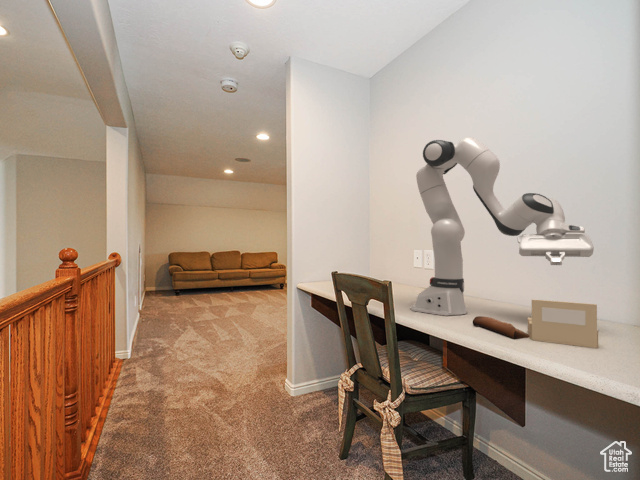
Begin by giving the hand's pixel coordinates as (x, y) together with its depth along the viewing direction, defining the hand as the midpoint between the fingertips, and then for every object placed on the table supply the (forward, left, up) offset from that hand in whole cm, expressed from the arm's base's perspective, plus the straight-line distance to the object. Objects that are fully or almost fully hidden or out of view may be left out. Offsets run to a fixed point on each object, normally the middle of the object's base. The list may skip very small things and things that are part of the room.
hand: (556, 264), depth 104 cm
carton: (0, -8, -22) cm, 24 cm away
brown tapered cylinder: (-16, -7, -23) cm, 29 cm away
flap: (0, -14, -22) cm, 26 cm away
